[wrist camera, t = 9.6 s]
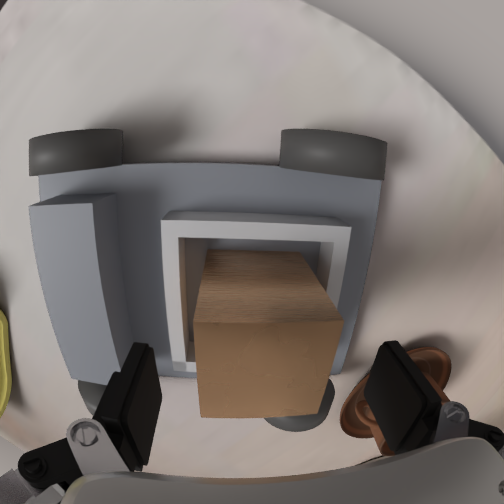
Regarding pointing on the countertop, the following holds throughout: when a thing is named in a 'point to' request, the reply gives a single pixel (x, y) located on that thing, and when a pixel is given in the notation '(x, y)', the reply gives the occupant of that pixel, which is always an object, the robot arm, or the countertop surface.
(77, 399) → the countertop surface
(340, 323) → the wooden block
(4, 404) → the plastic component
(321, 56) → the countertop surface
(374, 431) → the cup and saucer
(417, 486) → the robot arm
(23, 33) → the countertop surface
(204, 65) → the countertop surface
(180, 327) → the chassis
